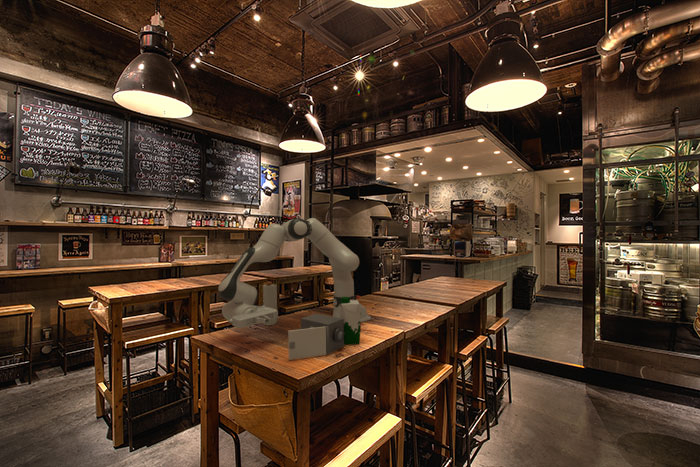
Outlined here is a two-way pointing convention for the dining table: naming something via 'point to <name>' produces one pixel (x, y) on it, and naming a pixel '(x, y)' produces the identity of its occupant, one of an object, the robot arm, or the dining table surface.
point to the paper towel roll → (270, 299)
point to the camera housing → (334, 328)
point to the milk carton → (350, 320)
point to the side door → (308, 342)
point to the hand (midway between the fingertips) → (267, 320)
